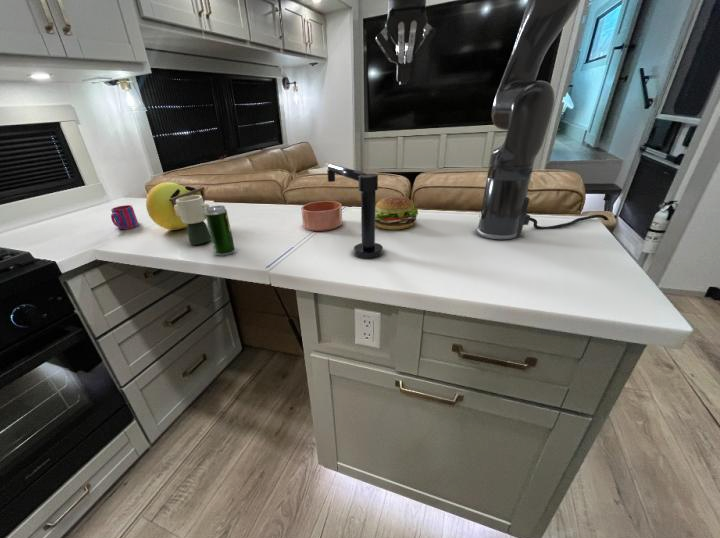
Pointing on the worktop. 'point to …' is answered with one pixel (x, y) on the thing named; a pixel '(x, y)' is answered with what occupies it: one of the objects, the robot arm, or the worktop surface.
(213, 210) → the beer can
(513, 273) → the worktop surface
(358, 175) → the spout
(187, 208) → the character mug
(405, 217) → the food
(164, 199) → the emoji
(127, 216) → the cup
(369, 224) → the faucet base
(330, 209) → the basin
